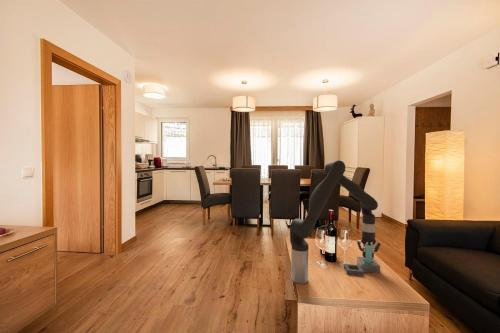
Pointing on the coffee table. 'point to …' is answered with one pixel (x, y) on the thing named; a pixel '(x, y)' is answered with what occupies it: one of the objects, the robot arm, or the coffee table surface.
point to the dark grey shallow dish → (353, 269)
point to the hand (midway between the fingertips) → (368, 257)
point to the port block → (368, 265)
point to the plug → (368, 254)
